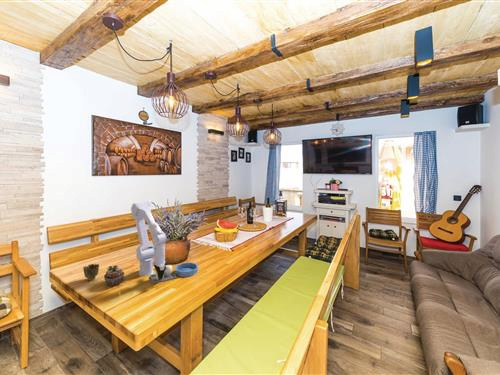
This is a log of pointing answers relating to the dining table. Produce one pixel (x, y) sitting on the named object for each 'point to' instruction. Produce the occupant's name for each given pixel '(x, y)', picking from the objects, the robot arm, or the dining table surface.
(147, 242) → the robot arm
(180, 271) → the bowl
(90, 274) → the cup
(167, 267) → the cylinder
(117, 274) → the cupcake
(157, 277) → the white rounded capsule
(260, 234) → the dining table surface
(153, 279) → the tray
